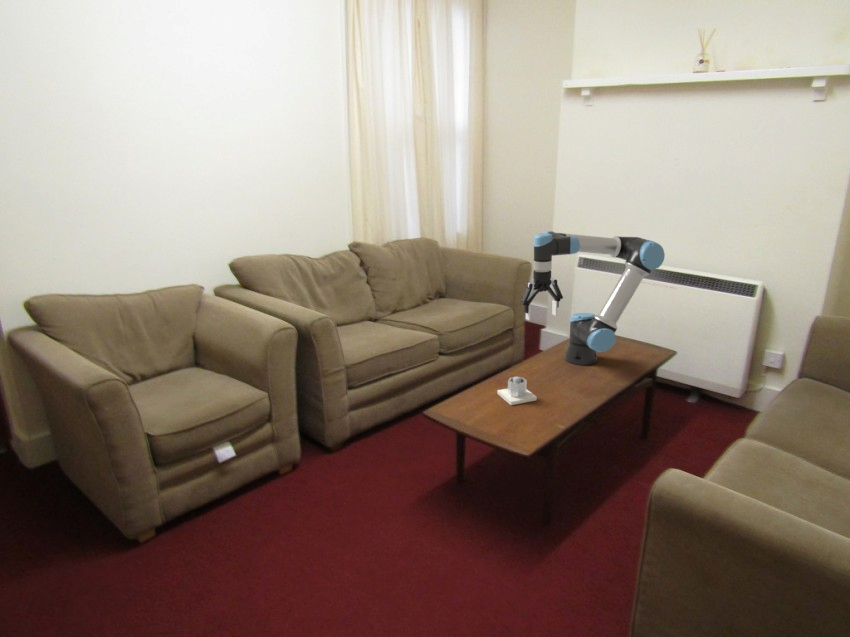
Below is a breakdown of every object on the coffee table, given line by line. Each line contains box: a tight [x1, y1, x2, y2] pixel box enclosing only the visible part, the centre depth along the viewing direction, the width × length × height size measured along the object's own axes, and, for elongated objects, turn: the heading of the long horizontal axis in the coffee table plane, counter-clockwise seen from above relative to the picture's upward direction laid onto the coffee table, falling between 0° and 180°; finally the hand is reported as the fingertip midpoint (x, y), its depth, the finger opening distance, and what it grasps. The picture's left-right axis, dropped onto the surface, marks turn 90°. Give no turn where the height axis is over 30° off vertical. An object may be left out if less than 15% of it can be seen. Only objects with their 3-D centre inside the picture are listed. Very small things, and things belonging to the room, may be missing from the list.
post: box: [496, 376, 538, 406], centre depth 235 cm, size 12×12×8 cm
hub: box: [507, 376, 528, 398], centre depth 235 cm, size 7×7×6 cm
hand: (541, 317), depth 249 cm, fingers open, 13 cm apart
